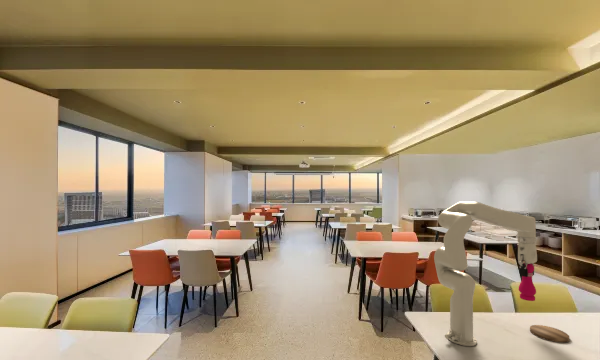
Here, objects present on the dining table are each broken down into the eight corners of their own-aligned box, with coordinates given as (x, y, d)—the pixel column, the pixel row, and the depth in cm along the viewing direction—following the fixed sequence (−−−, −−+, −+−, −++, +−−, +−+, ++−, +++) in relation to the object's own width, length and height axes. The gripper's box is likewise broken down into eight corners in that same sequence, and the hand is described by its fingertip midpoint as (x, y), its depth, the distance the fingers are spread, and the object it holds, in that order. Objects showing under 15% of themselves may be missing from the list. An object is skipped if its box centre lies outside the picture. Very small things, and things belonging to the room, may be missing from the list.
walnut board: (561, 345, 137) (561, 342, 137) (523, 331, 150) (523, 328, 150) (575, 338, 144) (575, 335, 144) (538, 325, 157) (538, 322, 157)
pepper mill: (539, 302, 148) (539, 261, 149) (523, 300, 150) (522, 260, 150) (531, 296, 155) (530, 258, 156) (515, 295, 157) (515, 257, 157)
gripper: (527, 242, 146) (527, 279, 145) (542, 240, 155) (543, 275, 154) (510, 240, 152) (510, 275, 152) (526, 237, 161) (526, 271, 160)
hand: (527, 275), depth 153 cm, fingers closed on pepper mill, 6 cm apart
